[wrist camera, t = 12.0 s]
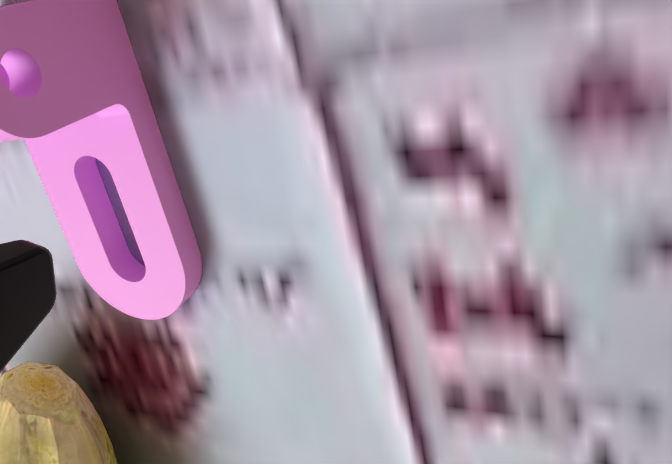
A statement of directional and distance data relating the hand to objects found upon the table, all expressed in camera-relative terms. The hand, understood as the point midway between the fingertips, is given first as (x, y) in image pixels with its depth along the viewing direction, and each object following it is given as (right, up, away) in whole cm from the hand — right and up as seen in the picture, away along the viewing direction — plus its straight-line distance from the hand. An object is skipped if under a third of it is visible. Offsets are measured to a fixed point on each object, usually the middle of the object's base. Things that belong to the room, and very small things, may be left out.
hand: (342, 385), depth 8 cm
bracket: (-9, +5, +18) cm, 20 cm away
